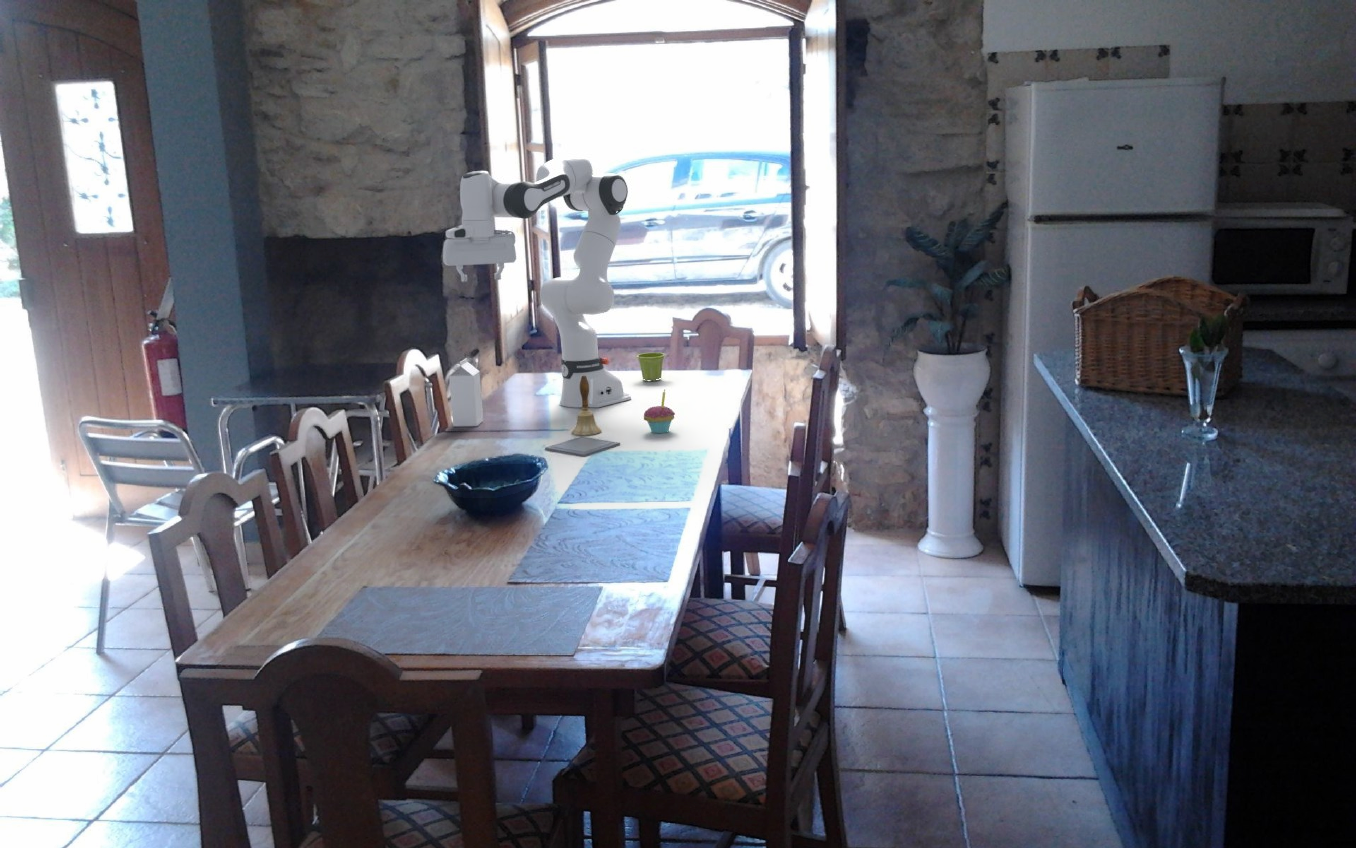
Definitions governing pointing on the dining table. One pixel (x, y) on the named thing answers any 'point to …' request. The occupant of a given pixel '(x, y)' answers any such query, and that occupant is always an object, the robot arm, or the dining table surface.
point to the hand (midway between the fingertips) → (481, 280)
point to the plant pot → (651, 365)
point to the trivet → (582, 446)
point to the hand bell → (585, 413)
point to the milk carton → (466, 395)
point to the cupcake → (659, 417)
